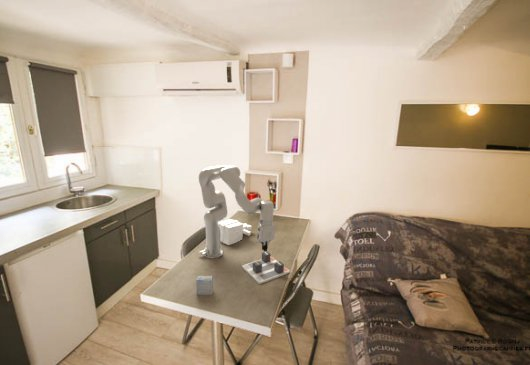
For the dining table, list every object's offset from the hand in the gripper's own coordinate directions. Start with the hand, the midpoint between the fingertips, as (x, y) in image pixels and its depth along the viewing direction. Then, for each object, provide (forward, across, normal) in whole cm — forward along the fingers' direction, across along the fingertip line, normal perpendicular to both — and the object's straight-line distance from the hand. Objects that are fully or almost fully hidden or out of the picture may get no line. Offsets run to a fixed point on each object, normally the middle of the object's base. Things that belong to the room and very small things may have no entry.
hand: (264, 250), depth 150 cm
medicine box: (+14, -38, -2) cm, 41 cm away
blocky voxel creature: (+15, +5, +48) cm, 51 cm away
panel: (+13, +1, -1) cm, 13 cm away
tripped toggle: (+12, -5, -1) cm, 13 cm away
